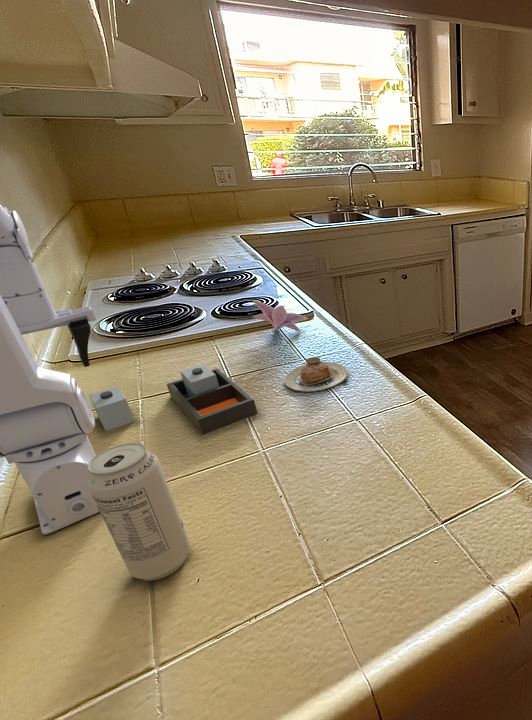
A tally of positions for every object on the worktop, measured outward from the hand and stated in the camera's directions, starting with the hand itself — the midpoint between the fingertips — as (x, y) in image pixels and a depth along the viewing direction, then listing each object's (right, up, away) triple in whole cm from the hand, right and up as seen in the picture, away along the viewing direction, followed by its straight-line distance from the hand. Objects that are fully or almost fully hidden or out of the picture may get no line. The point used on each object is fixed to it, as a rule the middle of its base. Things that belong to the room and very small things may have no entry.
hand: (56, 372), depth 75 cm
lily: (+21, +7, +36) cm, 43 cm away
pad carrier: (+21, -7, +8) cm, 23 cm away
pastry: (+36, -2, +17) cm, 40 cm away
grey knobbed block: (+7, -9, +4) cm, 12 cm away
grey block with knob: (+18, -5, +10) cm, 21 cm away
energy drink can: (+32, -21, -22) cm, 44 cm away
